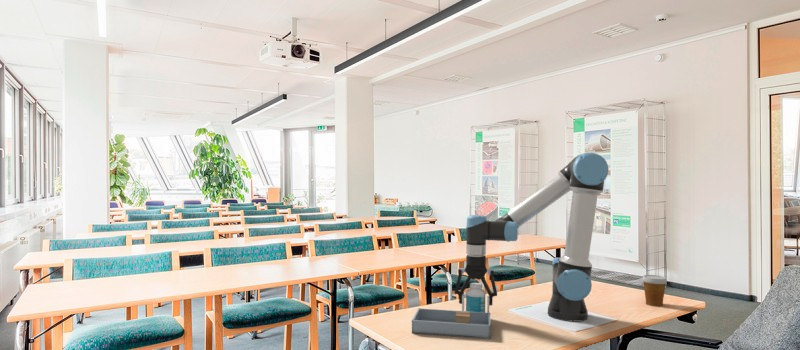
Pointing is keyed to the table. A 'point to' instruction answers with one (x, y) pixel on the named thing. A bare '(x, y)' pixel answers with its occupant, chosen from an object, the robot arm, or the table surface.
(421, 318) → the tote
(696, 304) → the table surface
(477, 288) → the pill bottle
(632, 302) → the table surface
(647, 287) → the disposable coffee cup
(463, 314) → the walnut cube
